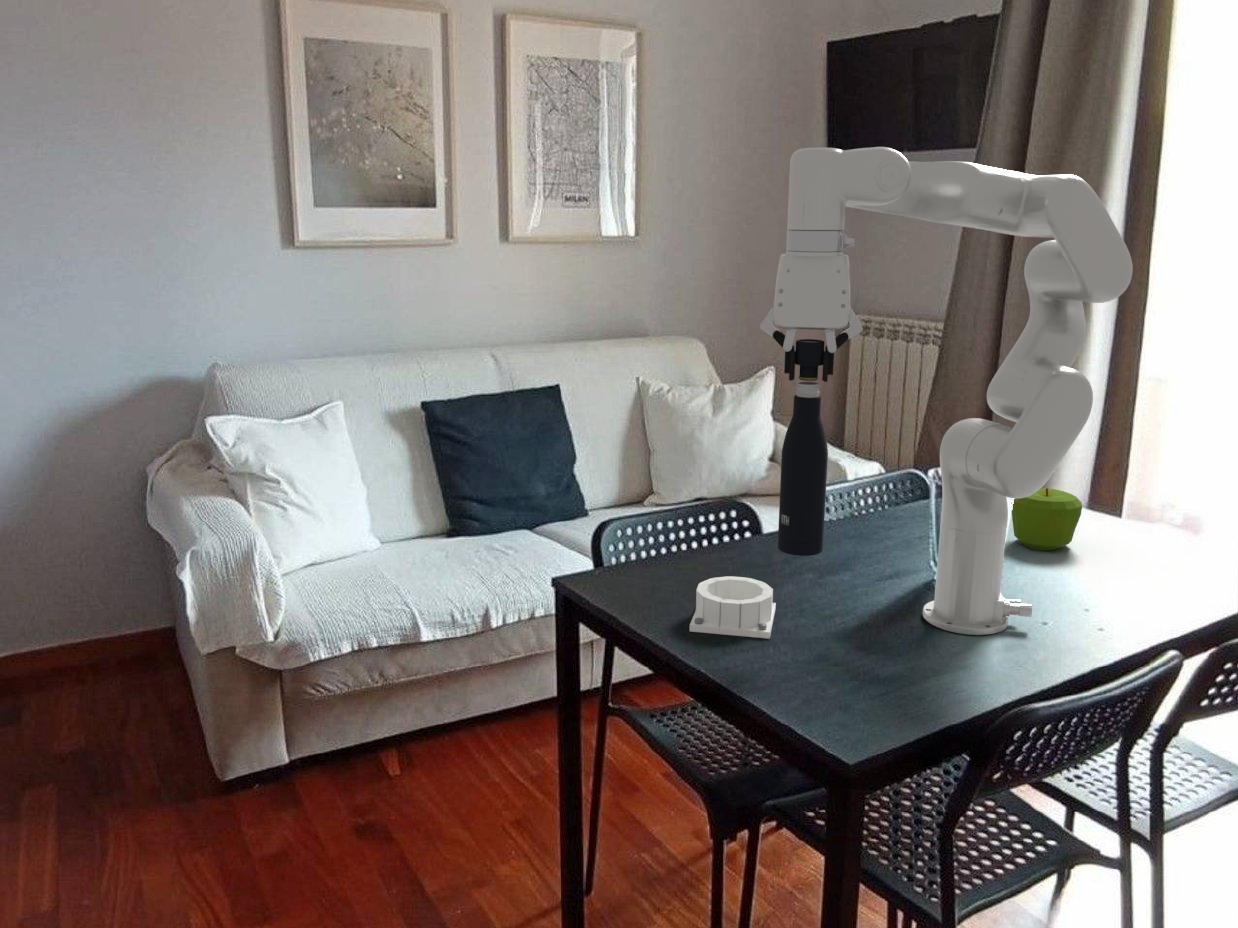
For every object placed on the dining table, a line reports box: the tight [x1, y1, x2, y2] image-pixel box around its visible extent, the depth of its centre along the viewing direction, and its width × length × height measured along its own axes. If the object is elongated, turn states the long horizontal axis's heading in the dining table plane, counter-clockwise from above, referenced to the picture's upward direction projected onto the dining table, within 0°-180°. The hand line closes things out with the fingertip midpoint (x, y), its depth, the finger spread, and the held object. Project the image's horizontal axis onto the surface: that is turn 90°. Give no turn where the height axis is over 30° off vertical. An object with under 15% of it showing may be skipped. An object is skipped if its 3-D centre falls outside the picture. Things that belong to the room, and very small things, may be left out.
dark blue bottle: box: [777, 338, 829, 557], centre depth 145 cm, size 6×6×30 cm
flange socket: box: [689, 575, 777, 640], centre depth 159 cm, size 12×12×5 cm
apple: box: [1011, 487, 1083, 551], centre depth 195 cm, size 12×12×11 cm
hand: (808, 378), depth 142 cm, fingers closed on dark blue bottle, 3 cm apart
